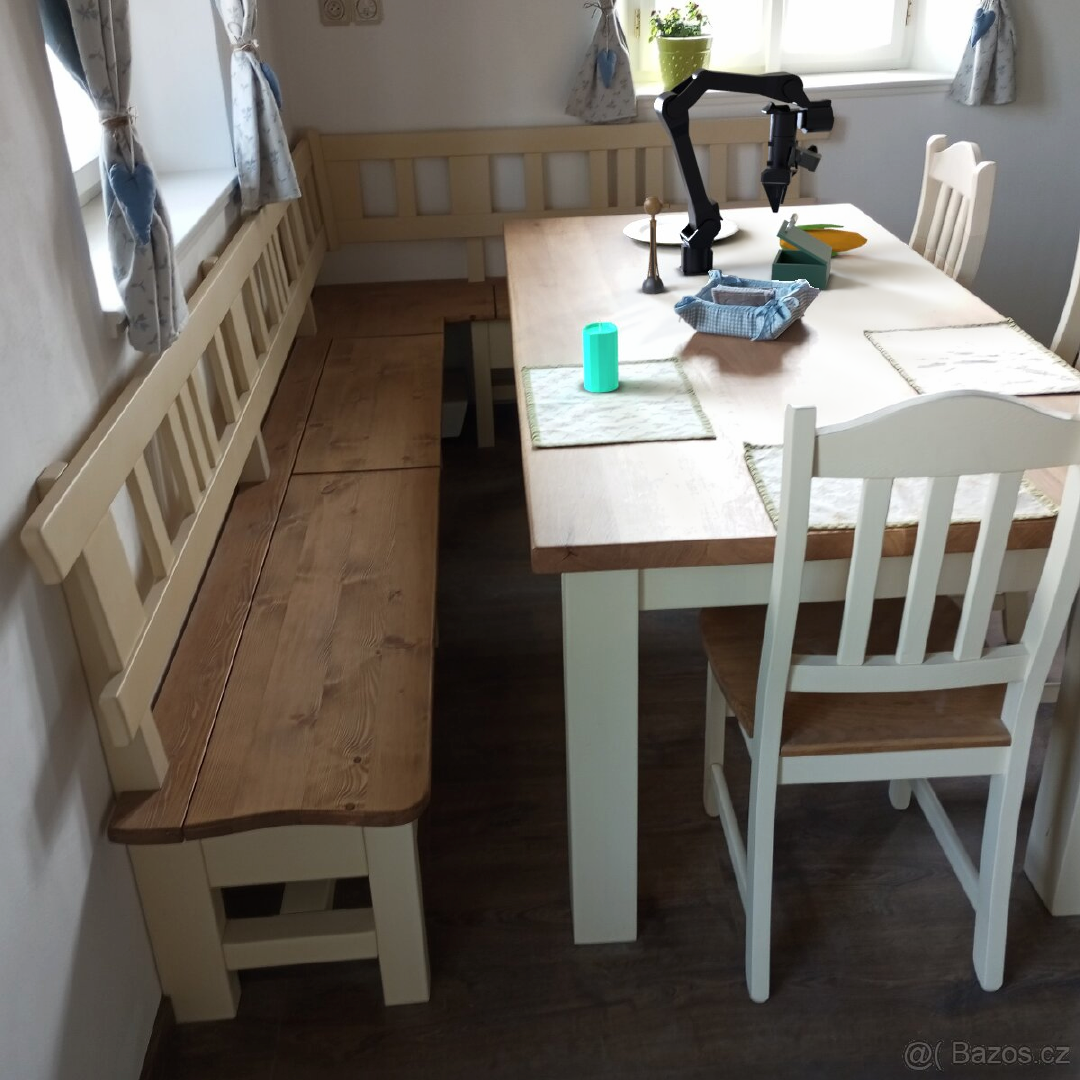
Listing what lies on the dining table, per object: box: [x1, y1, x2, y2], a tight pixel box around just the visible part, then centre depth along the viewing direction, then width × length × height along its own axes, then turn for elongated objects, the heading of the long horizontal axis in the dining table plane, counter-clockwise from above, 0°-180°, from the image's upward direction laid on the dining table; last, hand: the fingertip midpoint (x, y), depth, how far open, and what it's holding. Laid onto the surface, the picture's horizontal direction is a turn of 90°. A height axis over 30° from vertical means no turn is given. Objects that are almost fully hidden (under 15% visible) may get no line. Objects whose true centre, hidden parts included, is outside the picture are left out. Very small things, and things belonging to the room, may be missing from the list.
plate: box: [623, 214, 739, 247], centre depth 279 cm, size 29×29×2 cm
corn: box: [779, 223, 868, 257], centre depth 254 cm, size 7×8×20 cm
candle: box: [582, 318, 620, 394], centre depth 186 cm, size 6×6×12 cm
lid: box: [775, 213, 832, 265], centre depth 233 cm, size 12×12×4 cm
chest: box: [770, 248, 832, 291], centre depth 237 cm, size 11×12×5 cm
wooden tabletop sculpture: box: [641, 196, 671, 295], centre depth 233 cm, size 6×5×20 cm
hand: (778, 208), depth 245 cm, fingers open, 9 cm apart
